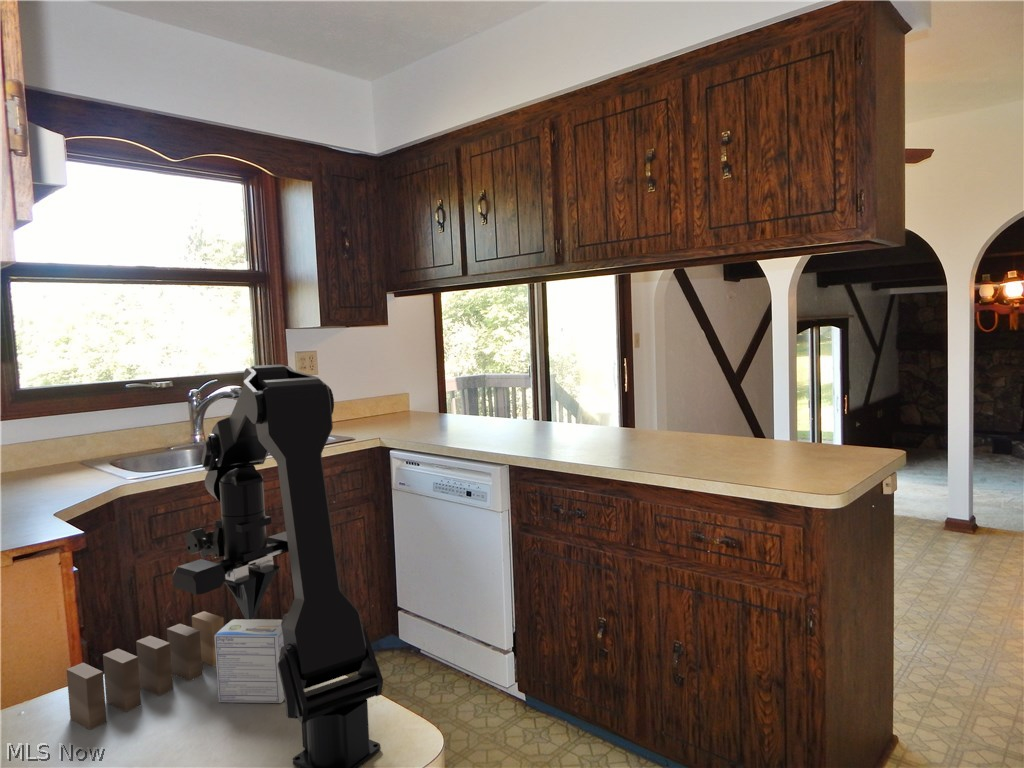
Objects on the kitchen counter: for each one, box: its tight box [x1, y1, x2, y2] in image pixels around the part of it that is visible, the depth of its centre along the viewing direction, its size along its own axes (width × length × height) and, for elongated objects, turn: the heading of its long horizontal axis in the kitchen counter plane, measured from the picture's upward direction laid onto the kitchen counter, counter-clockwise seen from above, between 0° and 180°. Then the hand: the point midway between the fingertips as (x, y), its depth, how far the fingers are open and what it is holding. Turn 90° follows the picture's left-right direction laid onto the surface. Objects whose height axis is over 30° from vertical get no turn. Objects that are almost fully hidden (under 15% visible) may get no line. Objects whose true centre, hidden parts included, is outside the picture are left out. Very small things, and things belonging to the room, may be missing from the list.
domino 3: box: [135, 635, 174, 697], centre depth 84 cm, size 2×4×6 cm, turn 58°
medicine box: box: [214, 618, 285, 704], centre depth 81 cm, size 8×4×9 cm, turn 85°
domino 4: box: [166, 623, 204, 682], centre depth 87 cm, size 2×4×6 cm, turn 58°
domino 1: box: [66, 662, 107, 731], centre depth 77 cm, size 2×4×6 cm, turn 58°
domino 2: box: [102, 648, 142, 713], centre depth 80 cm, size 2×4×6 cm, turn 58°
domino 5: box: [191, 610, 225, 667], centre depth 91 cm, size 2×4×6 cm, turn 58°
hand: (249, 618), depth 95 cm, fingers closed
